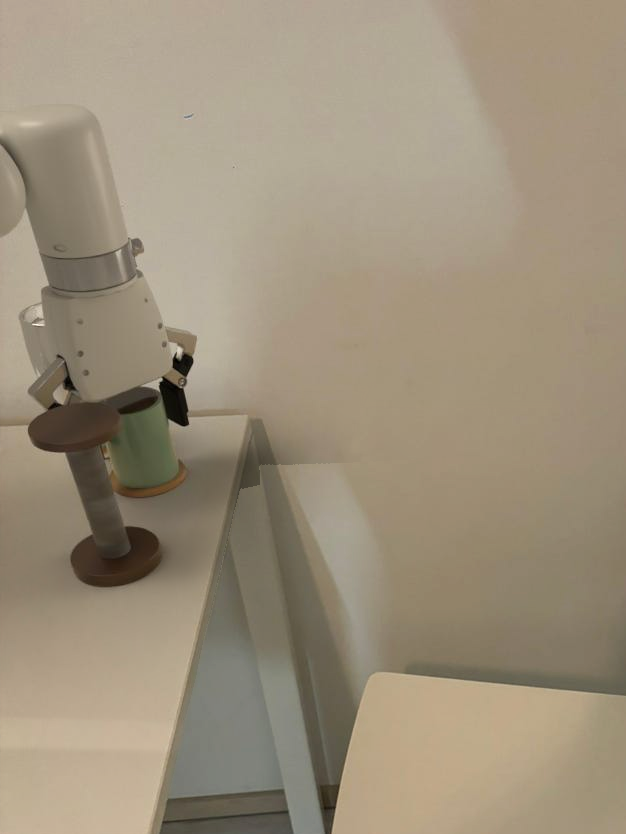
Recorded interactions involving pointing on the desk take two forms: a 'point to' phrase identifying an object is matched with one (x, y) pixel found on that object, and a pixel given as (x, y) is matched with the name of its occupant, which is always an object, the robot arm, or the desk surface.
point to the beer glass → (41, 348)
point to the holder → (96, 494)
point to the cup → (142, 440)
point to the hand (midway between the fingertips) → (137, 439)
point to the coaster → (153, 490)
